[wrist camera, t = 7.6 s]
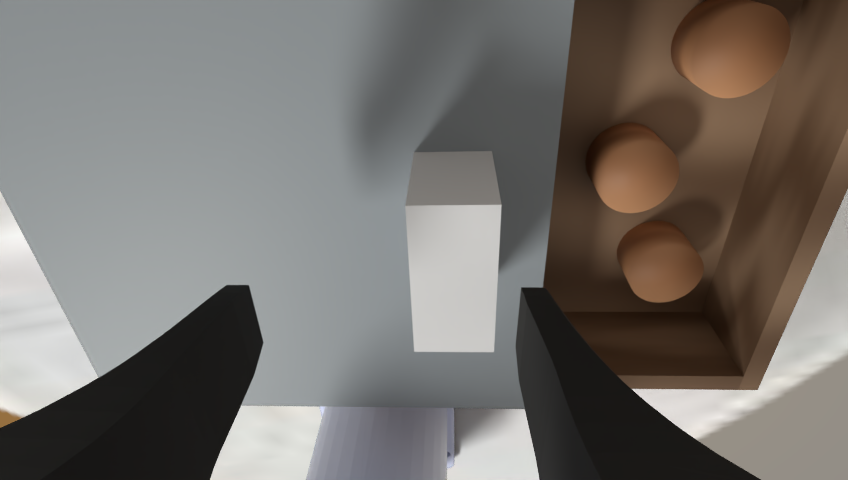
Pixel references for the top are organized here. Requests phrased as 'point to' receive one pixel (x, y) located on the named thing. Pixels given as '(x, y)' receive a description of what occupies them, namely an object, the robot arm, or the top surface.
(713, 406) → the top surface
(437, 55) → the lid
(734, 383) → the walnut box
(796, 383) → the top surface
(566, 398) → the robot arm
